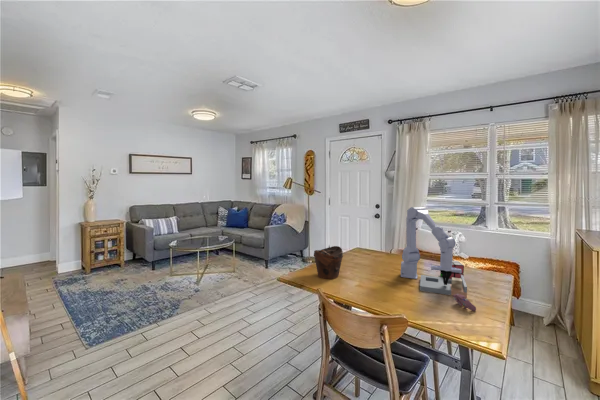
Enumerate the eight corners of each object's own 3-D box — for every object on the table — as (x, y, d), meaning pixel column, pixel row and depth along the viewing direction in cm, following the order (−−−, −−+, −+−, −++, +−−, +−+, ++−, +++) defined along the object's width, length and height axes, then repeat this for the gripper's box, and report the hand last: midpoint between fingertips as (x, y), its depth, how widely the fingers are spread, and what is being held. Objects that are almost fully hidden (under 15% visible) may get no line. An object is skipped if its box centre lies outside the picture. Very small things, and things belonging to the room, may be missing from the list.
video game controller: (455, 305, 136) (449, 293, 136) (463, 301, 137) (457, 288, 136) (469, 315, 126) (463, 302, 126) (477, 310, 127) (472, 297, 126)
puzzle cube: (463, 281, 164) (464, 265, 164) (445, 280, 166) (445, 264, 166) (457, 276, 174) (458, 260, 174) (440, 275, 176) (440, 259, 176)
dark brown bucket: (308, 279, 168) (309, 249, 167) (318, 269, 187) (319, 243, 186) (337, 283, 162) (338, 253, 161) (345, 273, 180) (346, 246, 179)
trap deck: (419, 290, 151) (420, 280, 151) (420, 278, 169) (421, 269, 169) (466, 297, 142) (467, 287, 142) (462, 284, 160) (462, 275, 160)
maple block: (451, 288, 148) (452, 279, 148) (451, 285, 152) (451, 277, 152) (461, 289, 146) (462, 281, 146) (460, 286, 150) (461, 278, 150)
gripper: (431, 260, 150) (430, 284, 151) (462, 263, 144) (461, 289, 145) (431, 256, 156) (430, 280, 157) (461, 259, 150) (460, 284, 151)
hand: (445, 284), depth 151 cm, fingers closed
